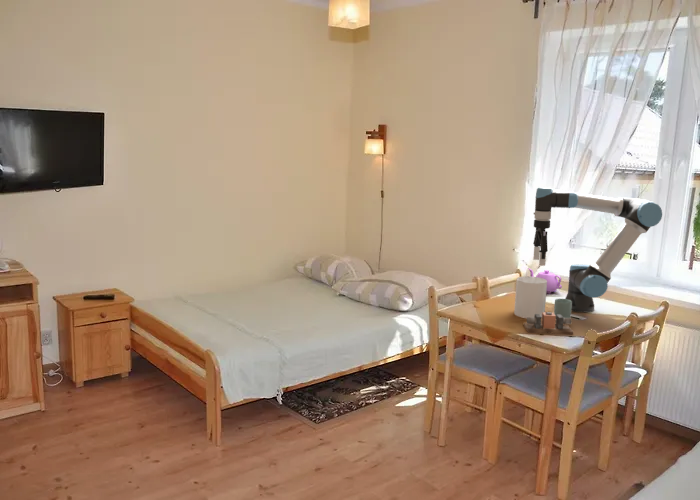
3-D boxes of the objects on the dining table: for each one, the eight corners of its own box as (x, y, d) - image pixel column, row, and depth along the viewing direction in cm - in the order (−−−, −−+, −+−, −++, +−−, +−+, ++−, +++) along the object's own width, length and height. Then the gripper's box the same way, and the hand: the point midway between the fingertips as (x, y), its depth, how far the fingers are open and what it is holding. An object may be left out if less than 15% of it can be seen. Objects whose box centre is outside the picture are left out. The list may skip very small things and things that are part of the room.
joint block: (541, 324, 285) (542, 311, 284) (552, 325, 285) (553, 311, 283) (543, 328, 280) (544, 314, 279) (554, 328, 280) (555, 314, 278)
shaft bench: (566, 326, 287) (568, 312, 286) (573, 334, 276) (574, 320, 275) (523, 324, 289) (524, 311, 288) (527, 332, 278) (528, 318, 277)
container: (517, 309, 315) (520, 275, 312) (546, 313, 309) (549, 278, 306) (511, 316, 302) (514, 281, 299) (541, 320, 296) (544, 284, 293)
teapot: (522, 291, 351) (523, 269, 349) (530, 286, 363) (532, 265, 360) (557, 296, 340) (559, 274, 337) (565, 291, 351) (566, 270, 349)
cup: (550, 318, 300) (552, 298, 298) (566, 318, 301) (567, 298, 299) (557, 323, 292) (559, 303, 290) (573, 323, 293) (574, 302, 291)
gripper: (529, 215, 309) (526, 257, 313) (539, 223, 284) (536, 267, 288) (544, 216, 308) (541, 257, 312) (556, 223, 284) (552, 268, 288)
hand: (539, 262), depth 300 cm, fingers open, 13 cm apart
